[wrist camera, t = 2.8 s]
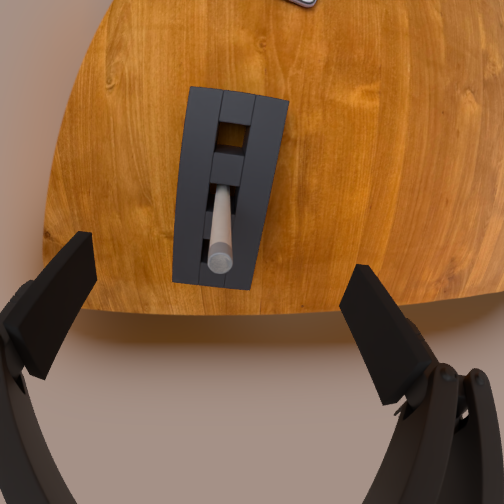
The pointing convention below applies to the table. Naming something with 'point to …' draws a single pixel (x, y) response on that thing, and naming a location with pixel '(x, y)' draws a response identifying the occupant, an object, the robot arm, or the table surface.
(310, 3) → the smartphone
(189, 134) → the pen stand
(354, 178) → the table surface
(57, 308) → the robot arm
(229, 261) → the stylus
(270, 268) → the table surface
